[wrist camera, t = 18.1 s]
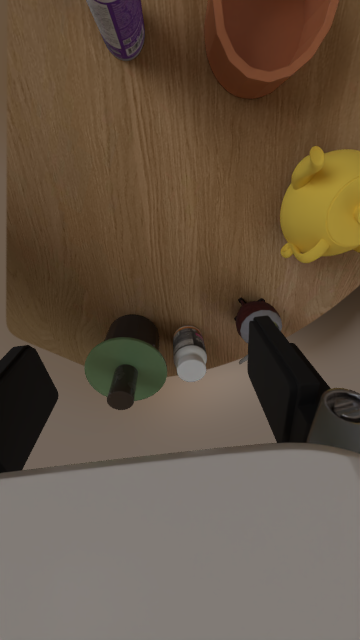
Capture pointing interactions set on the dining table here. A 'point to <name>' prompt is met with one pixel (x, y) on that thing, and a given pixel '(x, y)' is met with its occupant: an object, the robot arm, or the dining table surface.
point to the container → (120, 26)
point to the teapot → (322, 206)
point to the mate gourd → (249, 313)
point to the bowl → (263, 41)
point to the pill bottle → (189, 353)
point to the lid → (125, 370)
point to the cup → (134, 329)
